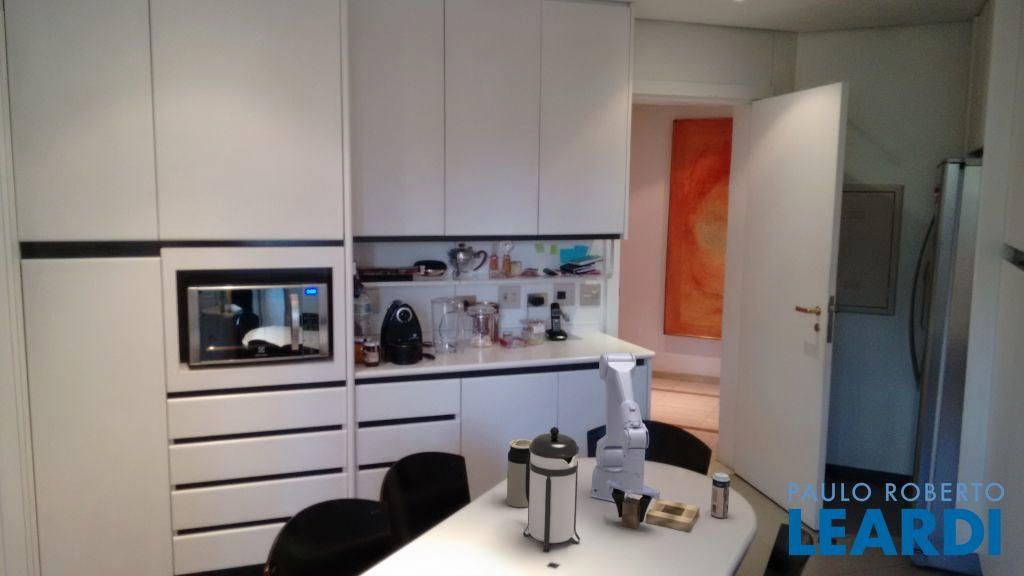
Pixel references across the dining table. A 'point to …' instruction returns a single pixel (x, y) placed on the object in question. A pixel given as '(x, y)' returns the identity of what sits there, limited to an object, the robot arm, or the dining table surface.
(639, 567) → the dining table surface
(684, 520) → the oak socket block
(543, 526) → the coffee press
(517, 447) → the travel mug
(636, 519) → the walnut peg
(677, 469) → the dining table surface
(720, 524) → the dining table surface
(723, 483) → the beer can
